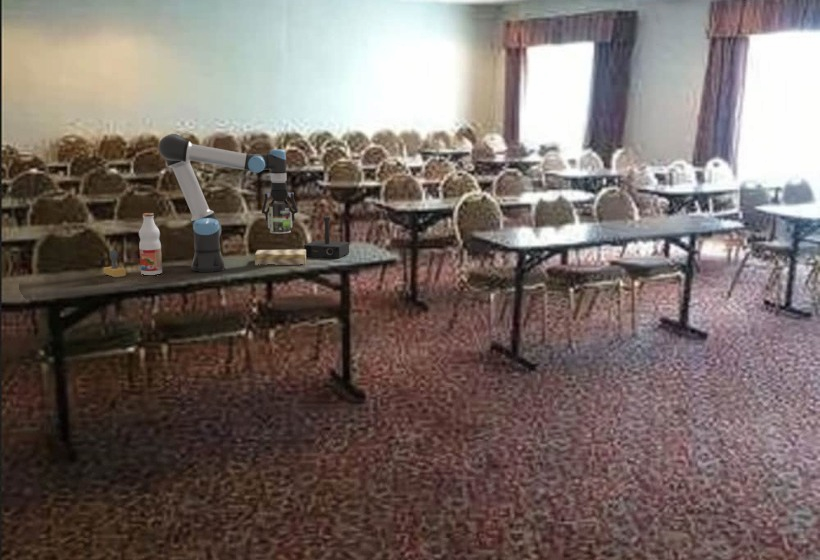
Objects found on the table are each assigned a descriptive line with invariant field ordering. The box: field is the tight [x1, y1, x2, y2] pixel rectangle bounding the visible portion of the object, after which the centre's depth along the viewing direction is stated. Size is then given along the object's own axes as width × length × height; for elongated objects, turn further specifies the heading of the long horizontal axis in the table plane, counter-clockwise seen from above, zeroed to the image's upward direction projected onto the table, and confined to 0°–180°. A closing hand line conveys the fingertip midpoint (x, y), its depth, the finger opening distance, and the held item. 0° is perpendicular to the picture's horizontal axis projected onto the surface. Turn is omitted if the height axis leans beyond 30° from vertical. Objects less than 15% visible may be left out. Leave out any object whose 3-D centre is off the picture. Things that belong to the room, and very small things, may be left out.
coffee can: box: [268, 201, 292, 235], centre depth 425 cm, size 10×10×14 cm
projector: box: [303, 216, 350, 259], centre depth 446 cm, size 19×17×20 cm
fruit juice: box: [138, 212, 163, 275], centre depth 397 cm, size 9×9×28 cm
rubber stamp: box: [103, 249, 127, 276], centre depth 395 cm, size 10×6×12 cm, turn 46°
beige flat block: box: [254, 248, 307, 266], centre depth 429 cm, size 24×14×5 cm, turn 95°
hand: (280, 227), depth 426 cm, fingers closed on coffee can, 10 cm apart
